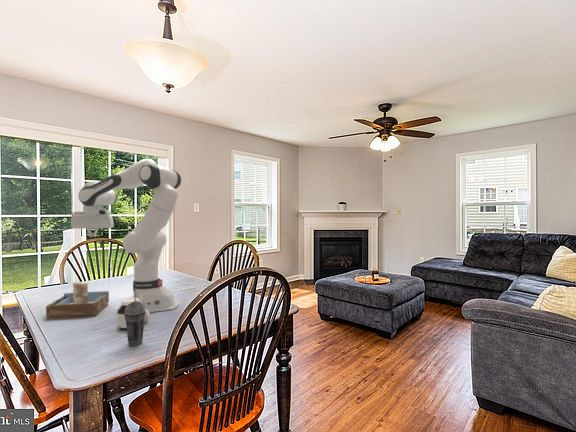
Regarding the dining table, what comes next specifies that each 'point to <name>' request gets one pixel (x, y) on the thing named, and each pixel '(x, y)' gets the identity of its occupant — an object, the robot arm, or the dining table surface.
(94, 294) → the tray
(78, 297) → the beech block
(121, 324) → the spread jar
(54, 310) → the caddy
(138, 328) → the beverage cup
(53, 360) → the dining table surface
